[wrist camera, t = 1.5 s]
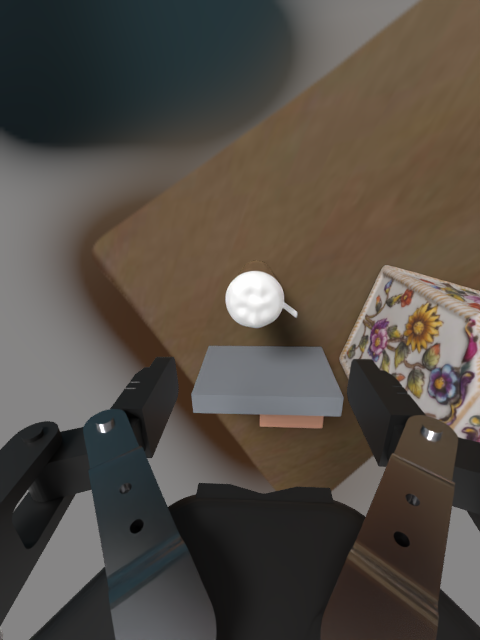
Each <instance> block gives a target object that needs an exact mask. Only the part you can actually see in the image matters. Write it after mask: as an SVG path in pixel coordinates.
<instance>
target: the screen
mask: <svg viewBox="0 0 480 640" xmlns="http://www.w3.org/2000/svg"><path fill="white" fill-rule="evenodd" d="M191 395H192V404H193V412H194V413H225V414H264V415H303V416H341V412H342V405H343V395H342V393H341V391H340V388H339V386H338V384H337V382H336V379H335V377H334V375H333V372H332V370H331V368H330V365H329V363H328V361H327V359H326V356H325V354H324V352H323V349H322V347H283V346H209V347H208V350H207V353H206V355H205V358H204V361H203V364H202V367H201V369H200V372H199V375H198V378H197V380H196V383H195V386H194V389H193V392H192V394H191Z"/></svg>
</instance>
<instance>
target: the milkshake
mask: <svg viewBox="0 0 480 640" xmlns="http://www.w3.org/2000/svg"><path fill="white" fill-rule="evenodd" d="M226 306H227V309H228V311H229V313H230V315H231V316H232V318H233V319H234V320H235V321H236V322H237V323H239V324H241V325H243V326H247V327H252V328H260V327H263V326H266V325H268V324H270V323H272V322H273V321H275V320H276V319H277V318H278V316H279V315H280V313H281V311H282V309H283V308H284V309H285V310H287V311H288V312H289V313H290V314H291V315H293V316H294V317H295V318H297V315H298V312H297V311H295V310H294V309H293V308H292V307H290V306H289V305H288V304H286V303H285V302H284V292H283V289H282V287H281V285H280V284H279V282H278V281H277V280H276V278H275V276H274V274H273V273H272V271H271V269H270V268H269V267H268V266H267V265H266V264H265V263H264V262H263V261H256V260H253V261H251V262H249V263H247V264H245V265H244V266H243V268H242V269H241V271H240V272H239V274H238V275H237V276H236V277H235V279H234V280H233V281H232V282H231V284H230V285H229V287H228V289H227V292H226Z"/></svg>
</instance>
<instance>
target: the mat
mask: <svg viewBox="0 0 480 640" xmlns="http://www.w3.org/2000/svg"><path fill="white" fill-rule="evenodd" d="M323 418H324V416H303V415H264V414H260V427H292V428H322V427H323Z"/></svg>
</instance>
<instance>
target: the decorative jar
mask: <svg viewBox="0 0 480 640" xmlns="http://www.w3.org/2000/svg"><path fill="white" fill-rule="evenodd" d="M353 359H372V360H373V361H374V363H375V364H376V365H377V367H378V368H379V369H380V370H385V371H387V372H388V373H390V374H391V375H393V376H394V377H396V379H397V380H398V381H399V382H400V384H401V385H402V387H404V389H405V390H406V391H407V393H408V394H409V395H410V396H411V397H412V399H413V400H414V401H415V402H416V403H417V405H418V406H419V407H420V408H421V410H422V411H423V412H424V413H425V415H426V416H429V417H433V418H435V419H438V420H440V421H442V422H444V423H445V424H447V425H448V426H450V427H451V428H452V429H453V430H454V431H455V433H456V434H457V436H458V437H460V438H463V439H468V440H472V441H476V442H480V291H478V290H474V289H470V288H467V287H464V286H460V285H457V284H454V283H450V282H447V281H443V280H439V279H437V278H433V277H429V276H426V275H422V274H418V273H415V272H412V271H407V270H404V269H400V268H396V267H393V266H389V265H386V266H384V267H383V268H382V269H381V271H380V273H379V275H378V277H377V279H376V281H375V284H374V286H373V288H372V290H371V292H370V294H369V296H368V298H367V300H366V302H365V304H364V307H363V309H362V311H361V313H360V315H359V317H358V319H357V321H356V323H355V325H354V327H353V329H352V332H351V334H350V336H349V338H348V341H347V342H346V344H345V347H344V349H343V351H342V353H341V355H340V358H339V360H340V363H341V365H342V367H343V369H344V371H345V374H346V376H347V378H348V380H349V374H350V367H351V362H352V360H353Z"/></svg>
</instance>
